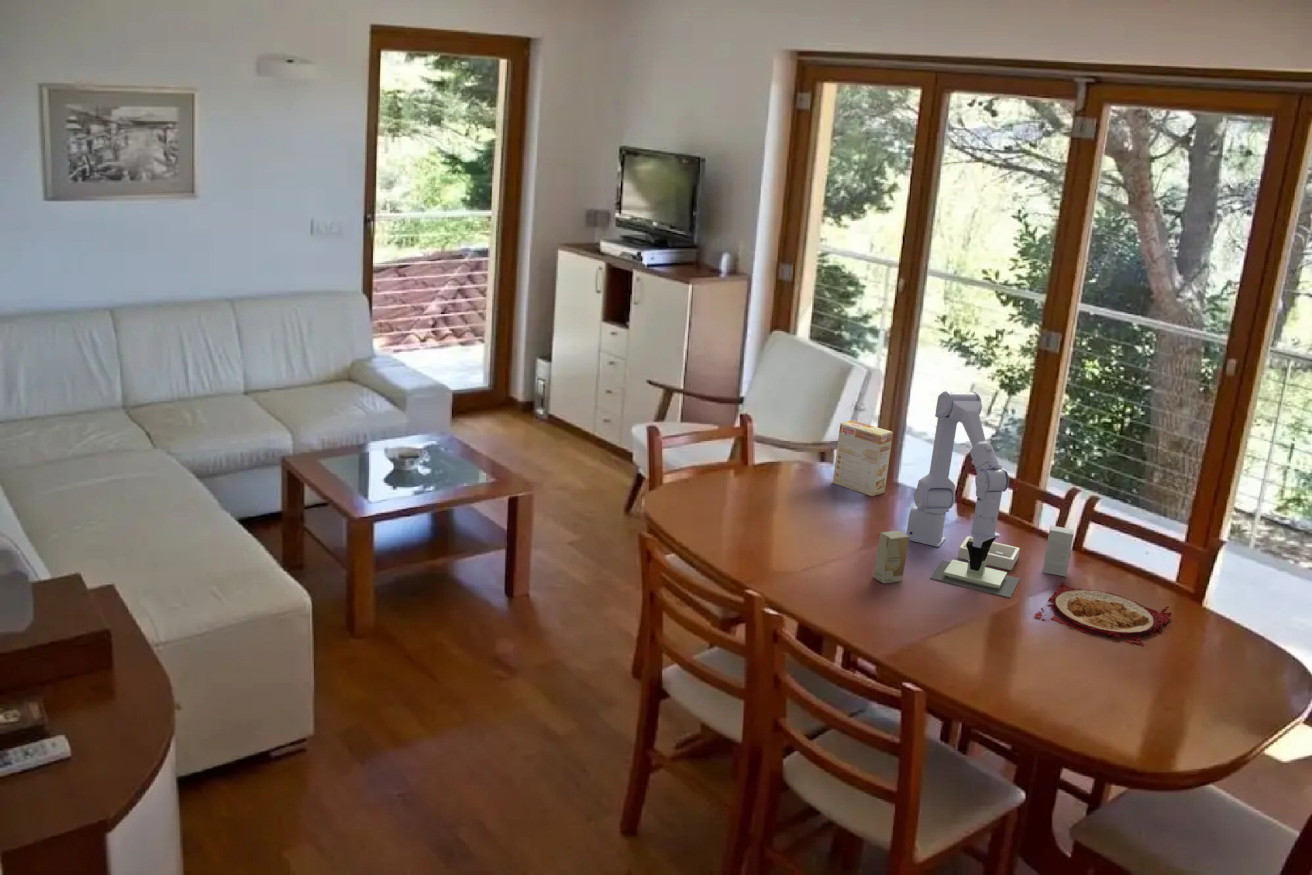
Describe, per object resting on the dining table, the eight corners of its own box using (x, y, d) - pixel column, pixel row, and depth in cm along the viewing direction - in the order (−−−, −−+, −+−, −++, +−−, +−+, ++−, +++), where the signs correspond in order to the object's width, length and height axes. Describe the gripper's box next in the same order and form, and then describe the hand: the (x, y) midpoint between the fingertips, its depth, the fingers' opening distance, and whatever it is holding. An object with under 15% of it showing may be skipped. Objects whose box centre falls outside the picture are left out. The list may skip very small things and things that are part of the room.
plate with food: (1061, 589, 309) (1063, 576, 308) (1170, 618, 295) (1173, 605, 294) (1032, 622, 289) (1034, 608, 288) (1148, 654, 275) (1150, 640, 274)
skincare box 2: (1066, 571, 318) (1074, 529, 315) (1065, 577, 315) (1074, 534, 311) (1042, 566, 320) (1050, 524, 317) (1041, 572, 316) (1049, 529, 313)
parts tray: (957, 557, 322) (959, 547, 321) (965, 546, 330) (967, 536, 329) (1011, 570, 316) (1013, 559, 315) (1017, 558, 325) (1019, 547, 324)
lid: (942, 577, 307) (945, 560, 305) (951, 565, 315) (954, 548, 314) (998, 591, 301) (1001, 574, 300) (1006, 578, 310) (1008, 561, 309)
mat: (930, 578, 306) (930, 577, 306) (942, 561, 318) (942, 560, 318) (1010, 598, 298) (1010, 597, 298) (1019, 579, 310) (1019, 578, 310)
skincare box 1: (883, 584, 300) (889, 538, 297) (872, 577, 304) (879, 532, 300) (903, 581, 303) (910, 535, 300) (892, 574, 307) (899, 529, 303)
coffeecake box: (885, 492, 369) (894, 431, 363) (872, 497, 364) (880, 435, 358) (845, 479, 378) (853, 419, 373) (831, 483, 373) (839, 422, 368)
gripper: (996, 526, 295) (988, 578, 299) (1007, 510, 308) (998, 559, 312) (968, 520, 298) (959, 571, 302) (979, 504, 311) (971, 553, 315)
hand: (977, 564), depth 307 cm, fingers open, 7 cm apart
